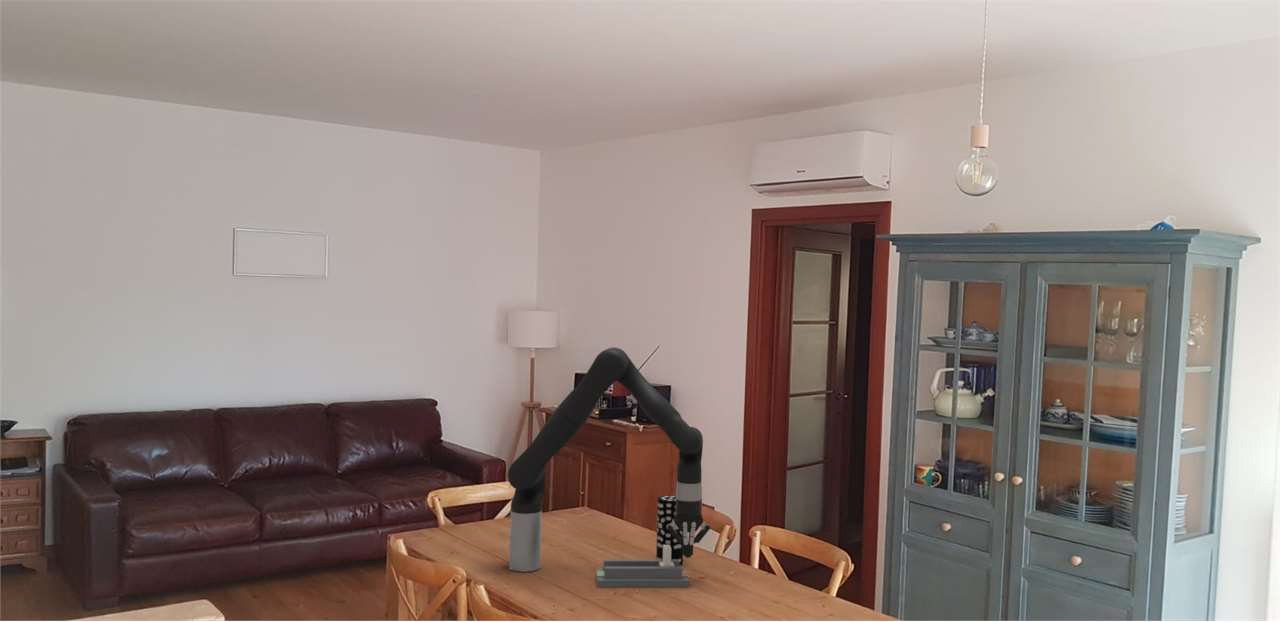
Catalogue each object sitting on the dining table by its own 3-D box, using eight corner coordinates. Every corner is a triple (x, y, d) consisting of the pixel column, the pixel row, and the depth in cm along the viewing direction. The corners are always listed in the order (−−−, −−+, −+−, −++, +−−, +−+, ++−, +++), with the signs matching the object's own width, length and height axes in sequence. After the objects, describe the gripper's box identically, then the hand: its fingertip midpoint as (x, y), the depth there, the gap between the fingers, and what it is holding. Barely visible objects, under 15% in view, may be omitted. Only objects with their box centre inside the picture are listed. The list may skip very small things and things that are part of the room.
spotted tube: (680, 567, 287) (682, 502, 286) (653, 565, 288) (655, 500, 288) (685, 560, 295) (686, 496, 294) (658, 558, 296) (660, 494, 296)
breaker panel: (597, 587, 266) (597, 570, 266) (596, 574, 278) (596, 557, 278) (689, 587, 268) (689, 570, 268) (684, 574, 280) (684, 557, 280)
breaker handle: (660, 575, 271) (660, 548, 271) (658, 571, 275) (659, 544, 275) (674, 575, 271) (674, 548, 271) (672, 571, 275) (673, 544, 275)
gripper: (667, 500, 269) (666, 560, 269) (713, 500, 270) (712, 560, 270) (664, 494, 276) (663, 553, 277) (709, 494, 277) (708, 553, 278)
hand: (687, 556), depth 274 cm, fingers closed
